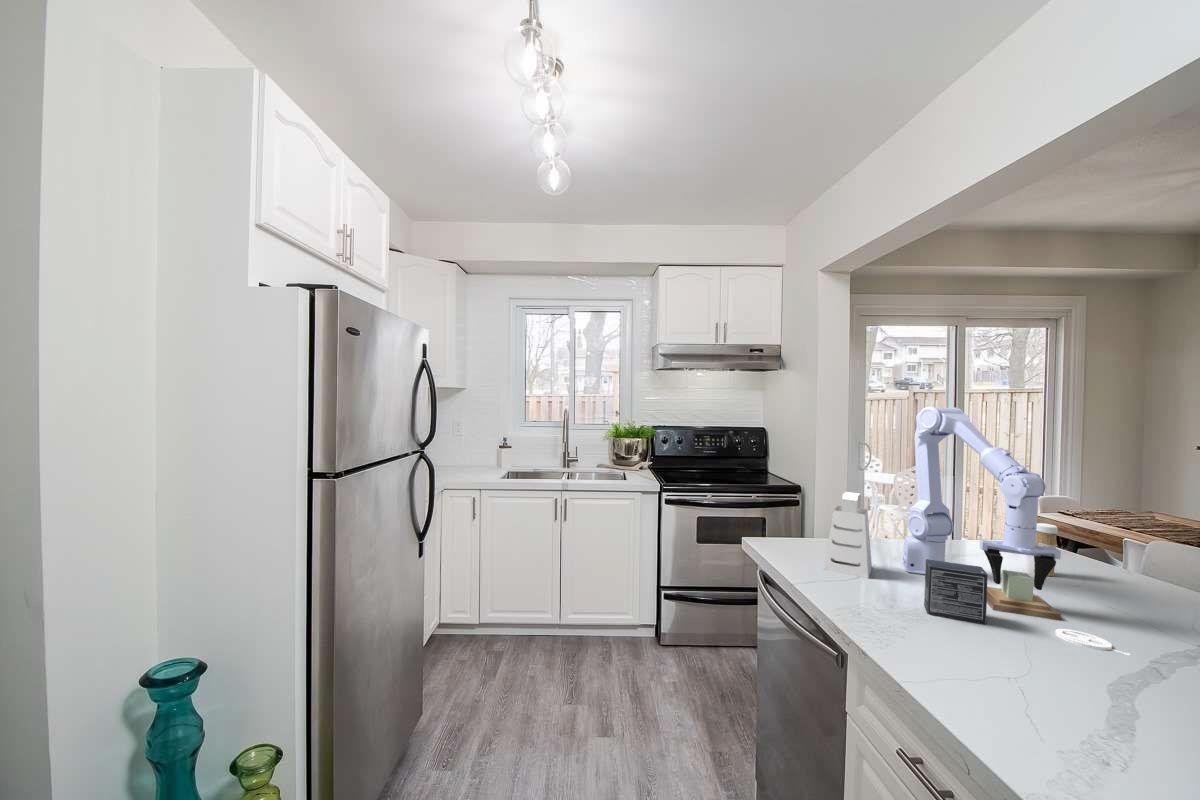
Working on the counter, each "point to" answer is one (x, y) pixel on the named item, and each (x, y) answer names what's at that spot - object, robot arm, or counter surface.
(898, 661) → the counter surface
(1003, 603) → the walnut base
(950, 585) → the small box
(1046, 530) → the sprinkles bottle
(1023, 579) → the sage block
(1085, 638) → the pendant
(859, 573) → the grater
